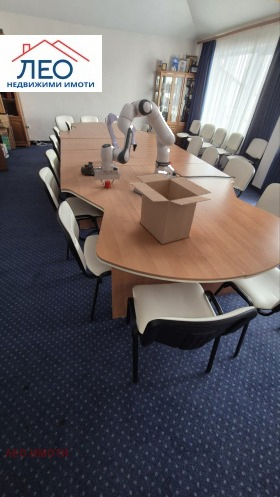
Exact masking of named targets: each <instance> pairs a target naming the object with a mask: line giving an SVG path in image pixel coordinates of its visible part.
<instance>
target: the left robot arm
mask: <svg viewBox="0 0 280 497" xmlns="http://www.w3.org/2000/svg"><path fill="white" fill-rule="evenodd" d="M118 118H119V115H116V114H114V113H112V112H110V113H108V115H107V116H106V127H107V130H108V134H109V137H110V140H111V145H112V146H113V147H115V148H118V149H121V147H120V145H119V143H118V141H117V139H116V135H115V132H114V129H113V124H114V123H115V122H118ZM132 130H133V138H132V143H131V146H132V151H133V152H135V153H136V149H137V147H138V142H137V141H136V142H135V138H136V131H137V129H136V127H134V126H133V125H132Z"/></svg>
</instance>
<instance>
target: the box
mask: <svg viewBox="0 0 280 497" xmlns="http://www.w3.org/2000/svg"><path fill="white" fill-rule="evenodd" d="M135 177H136V178H137V179H138V180H139V181H141V182H139V181H137V182H136V181H129V182H128V183H129V184H130V185H131V186H132V187H133V188H134V187H135V188H136V189H138V190H139V191H140V192H141V193H142V195H141V207H140V224H141V225H142V226H143V227H144V228H145V229H146V230H147V231H148V232H149V233H150V235H152V236H153V237H154V238H155V239H156V240H157V241H158V242H159V243H160V244H161V245H164V244H169V243H173V242H175V241H179V240H184V239H187V238H189V237H190V233H191V229H192V224H193V221H194V217H195V212H196V208H197V204H198V203H200V202H206V201H211V200H212V199H211V198H208V197H203V196H204V195H208V194H212V192H211V191H210V190H208V189H206V188H204V187H203V186H202V185H199V184H197V183H195V182H194V181H191V180H189V179H188V178H187V177H181V176H177V177H174V178H169V179H168V178H167V177H166V176H164V175H163V174H161V173H160V174H154V173H152V174H145V175H136V176H135Z"/></svg>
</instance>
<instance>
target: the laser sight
mask: <svg viewBox="0 0 280 497" xmlns="http://www.w3.org/2000/svg"><path fill="white" fill-rule="evenodd" d="M87 162H88V163H87V164H86V163H85V164H84V166H81V168H80V174H82V175H86V176H92V177H94V175H95V173H94V168H95V169H96V167H94V164H93V161H87Z"/></svg>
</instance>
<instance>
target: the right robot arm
mask: <svg viewBox="0 0 280 497" xmlns="http://www.w3.org/2000/svg"><path fill="white" fill-rule="evenodd" d="M118 117H119V118H118V121H116V122H117V123H116V125H117V128H118V130H119V131H120V132H121V133H122V134H123V135H124V141H123V146H122V148H119V149H118V148H115V147H113V146H112V143H111V144H110V143H104V144H102V145H101V147H100V159H101V162H100V164H101V166H96V167H93V168H94V173H95V175H94V176H93V177H94V180H96V181H100V182H101V185H102V186H105V181H107V180H108V181H110V180H111V181H110V183H111V185H112V186H113V185H114V182H115V180H120V179H121V172H120V171H119V166H118V165H116V164H114V162H116V163H118V164H121V165H125V164H128V162H129V161H130V157H131V155H130V154H131V148H132V145H131V143H132V138H133V130H132V126H133V123H134V120H135V119H136V118H143V117H146V119H147V120H148V122H149V124H150V127H151V128H152V130H153V132H154V133H155V134H154V136H155V139H156V159H155V165H154V171H153V174H160V173H161V174H163V175H164V176H166V177H167V178H168V179H172V178H177V175H178V176H179V177H184V178H225V179H231V178H233V179H236V176H221V175H192V176H191V175H188V176H186V175H181V173H178V171H177V170H175V169H174V168H173V167H172V166H171V165H172V164H173V162H172V161H169V158H170V149H169V147H171V146H173V145H174V144H175V143H176V136H175V134H174V133H173V132H172V130H171V129H170V127H169V126H168V124H167V123H166V121H165V119H164V117H163V115H162V113H161V110H160V109H159V107H158V106H157V104H156V103H155V102H154V101H150V100H148V99H146V98H143V99H138V100H136V101H135V100H134V101H132V102H131V103H130V102H129V103H125V104H123V105H122V108H121V110H120V112H119V115H118ZM95 168H96V169H95ZM103 180H104V181H103Z"/></svg>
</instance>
